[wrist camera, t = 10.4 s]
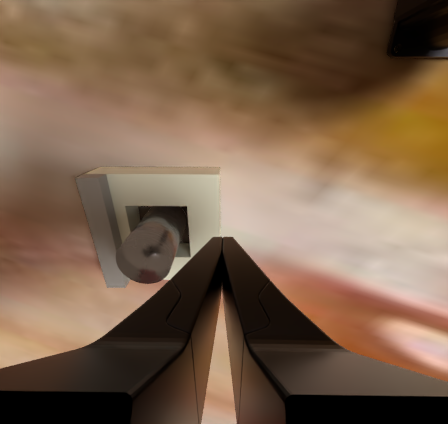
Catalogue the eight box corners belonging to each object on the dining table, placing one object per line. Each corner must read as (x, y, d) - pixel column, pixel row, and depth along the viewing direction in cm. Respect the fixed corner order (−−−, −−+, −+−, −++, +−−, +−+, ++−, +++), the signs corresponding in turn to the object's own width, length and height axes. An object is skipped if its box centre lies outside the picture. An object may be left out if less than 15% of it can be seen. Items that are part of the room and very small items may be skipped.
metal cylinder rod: (188, 236, 23) (173, 283, 17) (150, 235, 23) (121, 283, 17) (185, 201, 21) (167, 239, 15) (145, 201, 21) (110, 238, 15)
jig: (220, 167, 20) (218, 178, 16) (220, 264, 24) (219, 288, 21) (100, 166, 20) (74, 177, 17) (123, 263, 25) (107, 287, 21)
